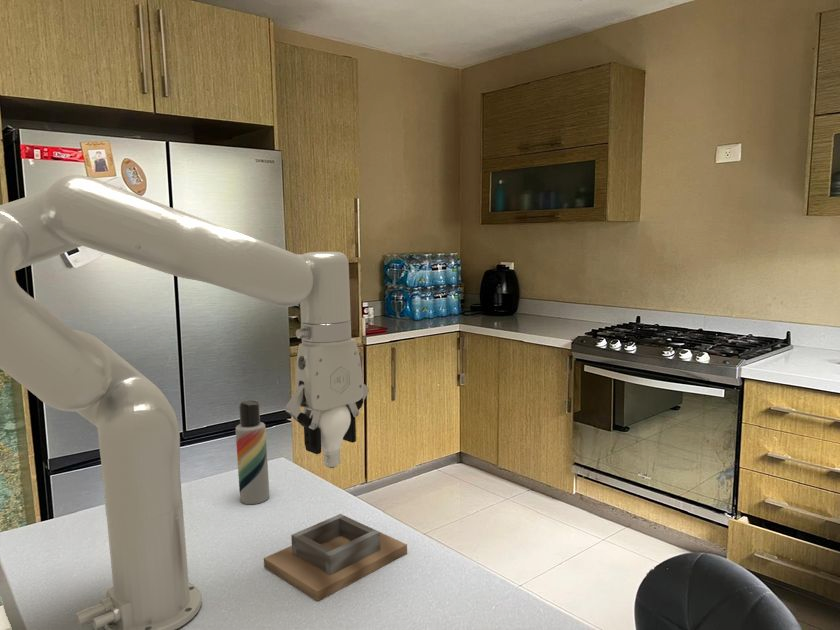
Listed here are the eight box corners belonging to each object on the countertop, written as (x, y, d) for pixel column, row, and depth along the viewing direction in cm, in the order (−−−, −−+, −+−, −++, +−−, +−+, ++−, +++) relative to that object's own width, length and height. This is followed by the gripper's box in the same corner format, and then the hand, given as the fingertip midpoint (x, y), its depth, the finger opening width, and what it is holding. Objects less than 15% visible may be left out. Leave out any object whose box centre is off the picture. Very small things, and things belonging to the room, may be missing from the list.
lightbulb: (356, 460, 101) (353, 394, 99) (347, 475, 95) (345, 405, 93) (317, 459, 101) (315, 394, 100) (307, 474, 95) (303, 404, 94)
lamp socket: (317, 601, 89) (316, 571, 88) (264, 567, 98) (262, 540, 98) (407, 553, 102) (406, 527, 101) (351, 526, 111) (350, 502, 111)
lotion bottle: (239, 495, 126) (233, 399, 124) (268, 491, 128) (263, 396, 125) (240, 506, 121) (234, 406, 118) (270, 502, 122) (264, 403, 120)
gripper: (293, 343, 87) (299, 467, 89) (384, 328, 99) (387, 437, 101) (263, 338, 92) (270, 455, 94) (354, 324, 104) (357, 428, 106)
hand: (331, 445), depth 98 cm, fingers closed on lightbulb, 6 cm apart
